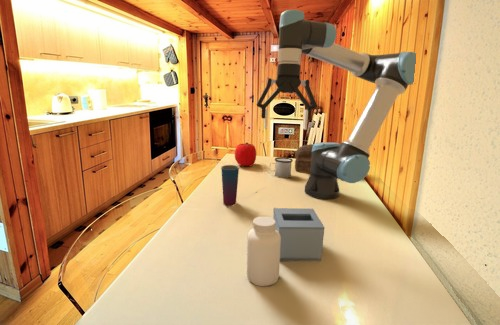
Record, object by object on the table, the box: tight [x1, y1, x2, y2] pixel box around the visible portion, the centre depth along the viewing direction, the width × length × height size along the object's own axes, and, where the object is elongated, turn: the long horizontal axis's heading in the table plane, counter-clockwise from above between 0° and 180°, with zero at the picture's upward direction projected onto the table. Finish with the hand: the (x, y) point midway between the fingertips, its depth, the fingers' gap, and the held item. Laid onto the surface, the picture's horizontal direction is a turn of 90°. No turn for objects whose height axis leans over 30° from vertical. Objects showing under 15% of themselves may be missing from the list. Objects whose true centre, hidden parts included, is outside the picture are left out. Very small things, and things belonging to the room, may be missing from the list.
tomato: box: [234, 142, 257, 167], centre depth 170 cm, size 16×14×14 cm
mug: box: [269, 156, 293, 179], centre depth 152 cm, size 12×10×9 cm
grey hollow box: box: [272, 207, 325, 262], centre depth 82 cm, size 12×12×10 cm
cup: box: [221, 164, 240, 207], centre depth 112 cm, size 7×7×15 cm
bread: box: [294, 143, 314, 174], centre depth 161 cm, size 15×32×16 cm, turn 73°
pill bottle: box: [246, 216, 281, 287], centre depth 68 cm, size 8×8×15 cm
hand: (285, 128), depth 98 cm, fingers open, 13 cm apart
